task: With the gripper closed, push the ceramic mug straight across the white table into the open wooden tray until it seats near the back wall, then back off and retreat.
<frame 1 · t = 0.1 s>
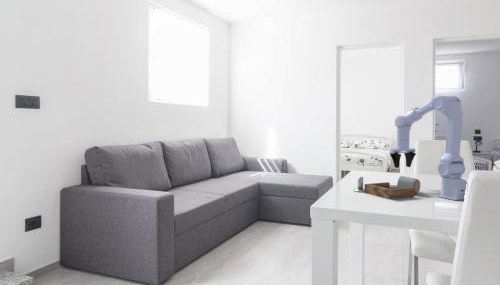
hand: (402, 167, 182), 10 cm above the table, tool pointing down, fingers open, 7 cm apart
coaster: (394, 187, 180), on the table
wooden tray: (389, 194, 163), on the table
ceramic mug: (409, 193, 168), on the table
stand post: (360, 191, 172), on the table
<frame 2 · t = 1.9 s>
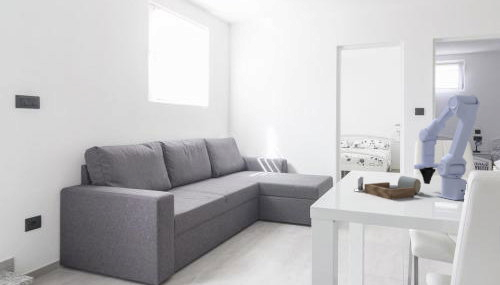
hand: (426, 183, 172), 3 cm above the table, tool pointing down, fingers closed
nothing on the table moved.
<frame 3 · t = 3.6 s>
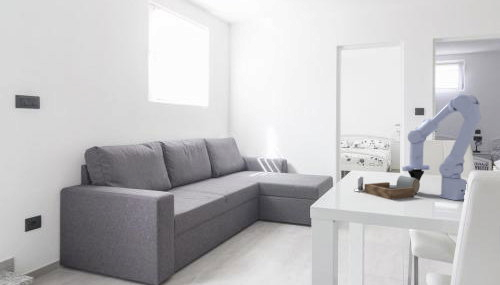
hand: (415, 185, 169), 3 cm above the table, tool pointing down, fingers closed
ceramic mug: (408, 193, 168), on the table, touching gripper
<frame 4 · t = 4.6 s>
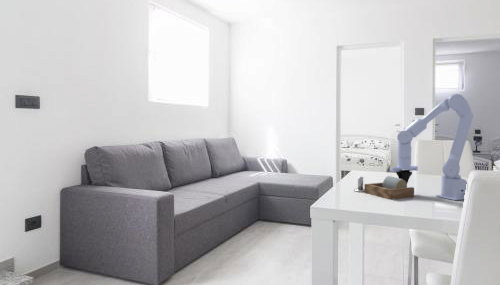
hand: (403, 186, 166), 3 cm above the table, tool pointing down, fingers closed
ceramic mug: (396, 193, 166), resting in wooden tray, touching gripper
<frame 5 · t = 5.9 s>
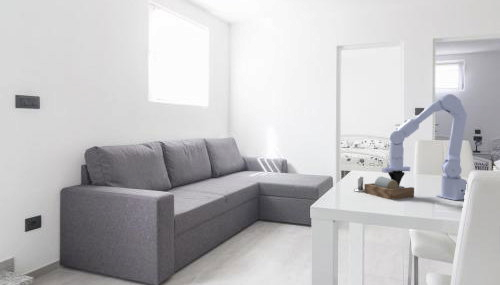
hand: (396, 187, 165), 3 cm above the table, tool pointing down, fingers closed
ceramic mug: (388, 194, 164), resting in wooden tray, touching gripper
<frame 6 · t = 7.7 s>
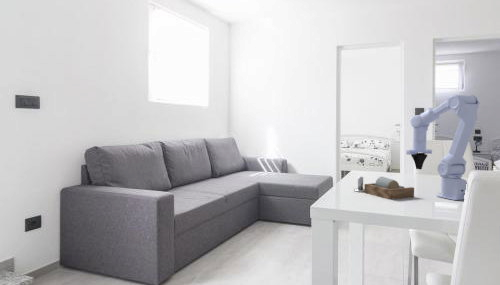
hand: (418, 169, 175), 10 cm above the table, tool pointing down, fingers closed
ceramic mug: (388, 194, 165), resting in wooden tray
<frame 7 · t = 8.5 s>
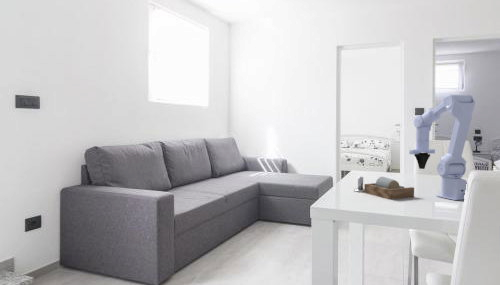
hand: (421, 168, 177), 10 cm above the table, tool pointing down, fingers closed
nothing on the table moved.
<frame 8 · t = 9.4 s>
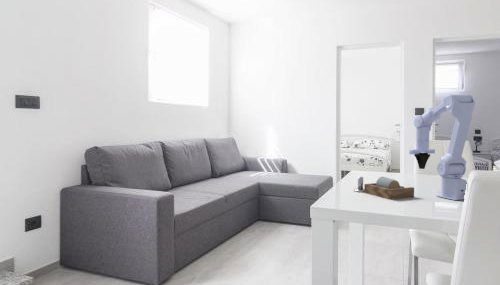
hand: (421, 168, 177), 10 cm above the table, tool pointing down, fingers closed
nothing on the table moved.
at the end: ceramic mug inside the target area on the wooden tray (1.3 cm from its centre), point 0.0 cm above the wooden tray's base; ceramic mug tilted 0°; ceramic mug moved 10.7 cm from its start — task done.
